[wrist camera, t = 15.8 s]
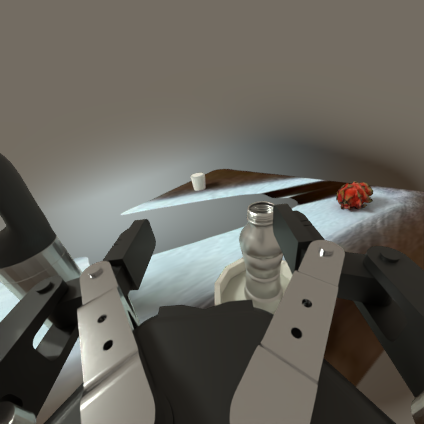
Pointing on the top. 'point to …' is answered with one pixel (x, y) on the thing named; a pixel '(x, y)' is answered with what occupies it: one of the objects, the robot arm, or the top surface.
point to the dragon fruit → (354, 195)
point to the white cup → (198, 181)
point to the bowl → (241, 282)
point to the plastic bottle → (261, 258)
